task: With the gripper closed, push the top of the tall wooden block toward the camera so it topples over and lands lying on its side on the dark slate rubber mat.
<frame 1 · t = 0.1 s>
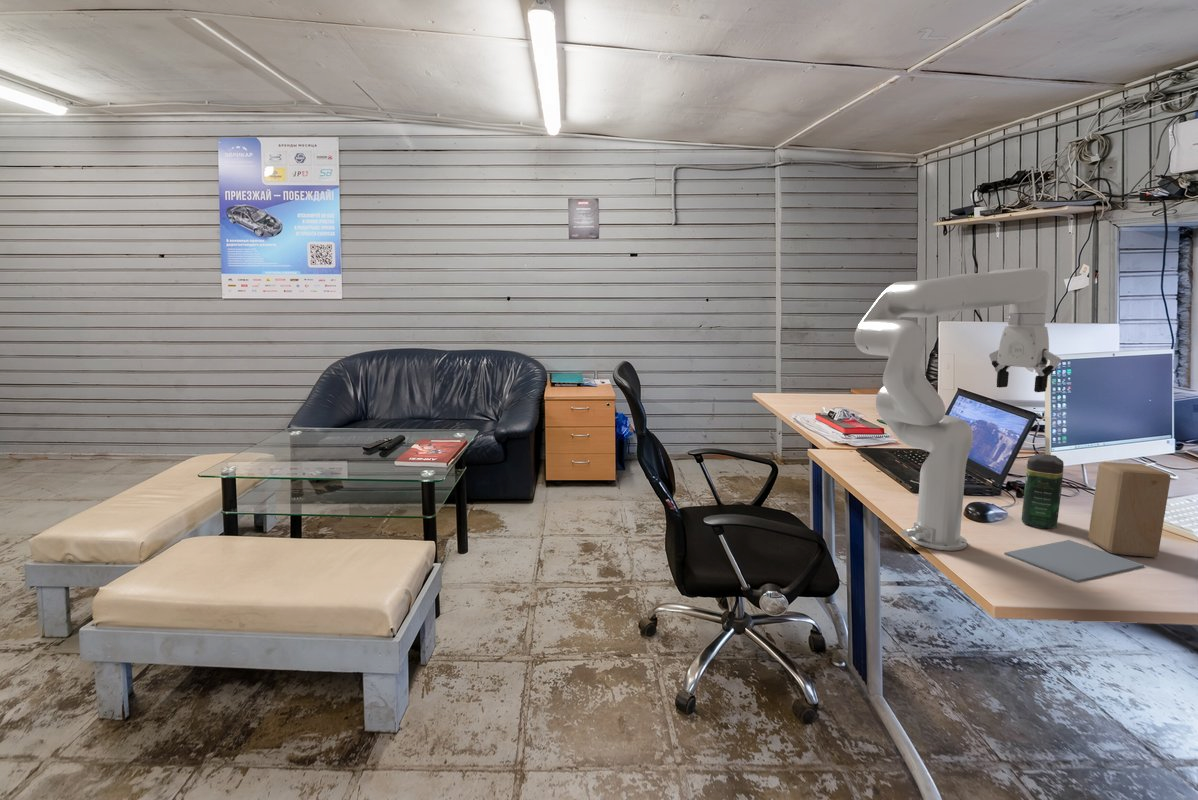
hand: (1020, 389, 156), 37 cm above the table, tool pointing down, fingers open, 9 cm apart
coffee jar: (1039, 524, 166), on the table
wooden block: (1121, 549, 147), on the table, touching mat
mat: (1072, 560, 142), on the table
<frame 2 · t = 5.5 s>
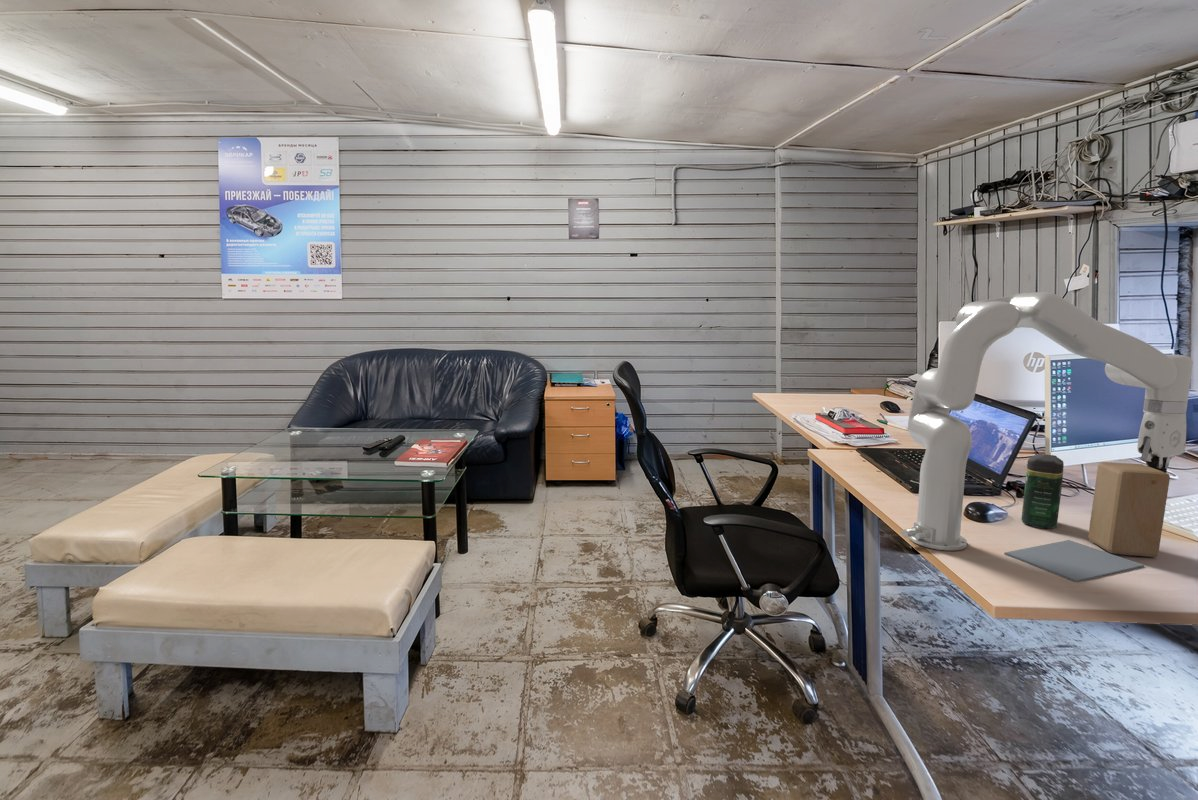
hand: (1154, 482, 148), 15 cm above the table, tool pointing down, fingers closed
wooden block: (1121, 549, 147), on the table, touching gripper, mat
everything else where it was.
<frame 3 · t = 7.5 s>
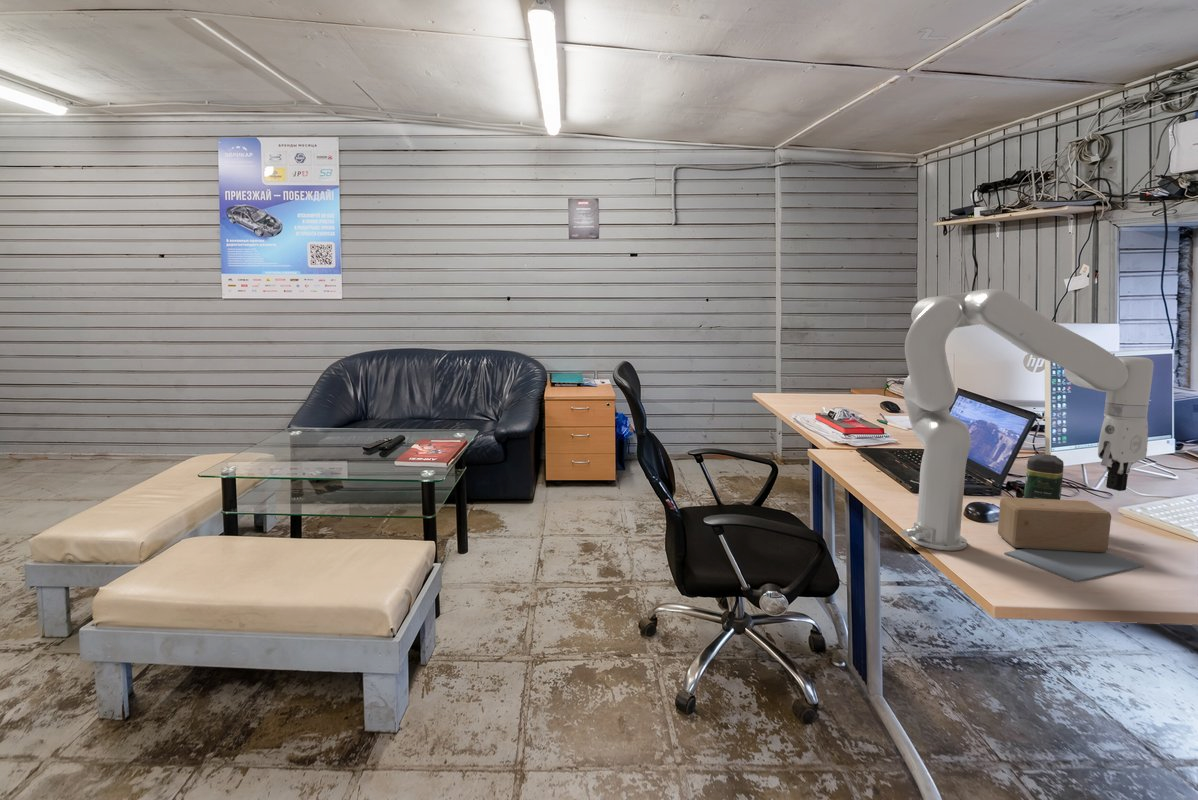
hand: (1115, 489, 144), 15 cm above the table, tool pointing down, fingers closed
wooden block: (1099, 526, 148), point 5 cm above the table, touching mat
everything else where it was.
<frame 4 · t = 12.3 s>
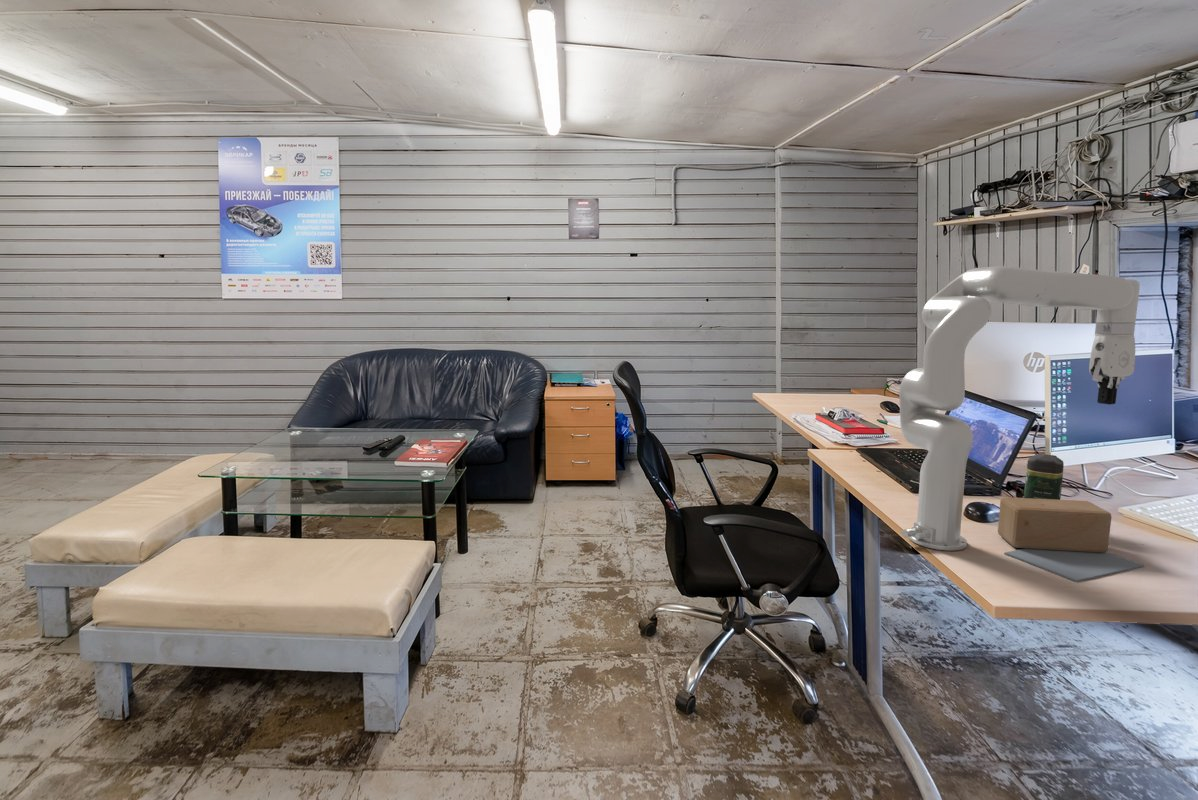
hand: (1106, 403, 156), 33 cm above the table, tool pointing down, fingers closed
nothing on the table moved.
at the end: wooden block tilted 90°; wooden block inside the target area (10.7 cm from its centre), point 5.4 cm above the table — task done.
